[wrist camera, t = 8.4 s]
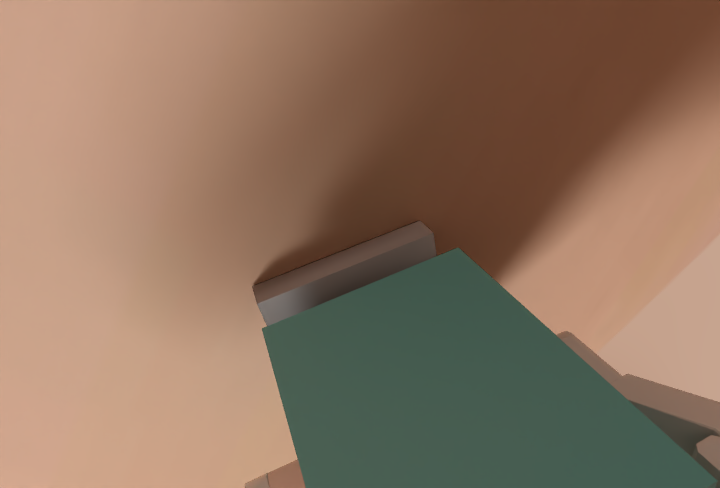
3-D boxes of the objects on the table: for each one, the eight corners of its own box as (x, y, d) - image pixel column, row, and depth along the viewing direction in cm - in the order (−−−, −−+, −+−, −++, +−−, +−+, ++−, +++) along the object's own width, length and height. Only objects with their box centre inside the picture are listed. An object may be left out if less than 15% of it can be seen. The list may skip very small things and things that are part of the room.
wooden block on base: (252, 286, 12) (308, 482, 7) (419, 220, 13) (566, 356, 8) (303, 402, 15) (368, 599, 10) (438, 341, 16) (556, 494, 11)
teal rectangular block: (261, 328, 10) (362, 692, 5) (458, 247, 11) (718, 481, 6) (319, 452, 13) (422, 768, 8) (472, 379, 14) (656, 617, 9)
